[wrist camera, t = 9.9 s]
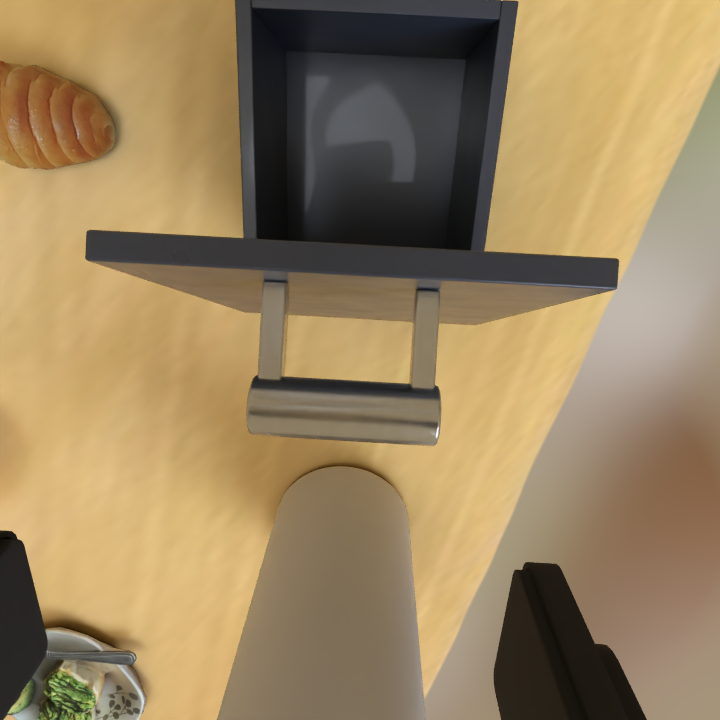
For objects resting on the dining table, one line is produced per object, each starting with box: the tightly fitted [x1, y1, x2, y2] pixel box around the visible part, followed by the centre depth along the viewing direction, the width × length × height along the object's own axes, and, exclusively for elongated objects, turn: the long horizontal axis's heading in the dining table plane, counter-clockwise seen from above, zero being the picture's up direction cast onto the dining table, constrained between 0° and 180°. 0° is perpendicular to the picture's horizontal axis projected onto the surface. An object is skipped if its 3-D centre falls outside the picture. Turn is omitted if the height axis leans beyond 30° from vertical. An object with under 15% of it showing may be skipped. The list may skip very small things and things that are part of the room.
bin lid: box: [85, 230, 619, 446], centre depth 21 cm, size 16×14×5 cm
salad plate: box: [4, 627, 146, 720], centre depth 55 cm, size 19×18×5 cm
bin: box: [235, 0, 518, 251], centre depth 32 cm, size 16×14×11 cm
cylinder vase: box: [217, 466, 426, 720], centre depth 37 cm, size 12×12×25 cm
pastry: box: [0, 61, 115, 169], centre depth 35 cm, size 9×7×4 cm
